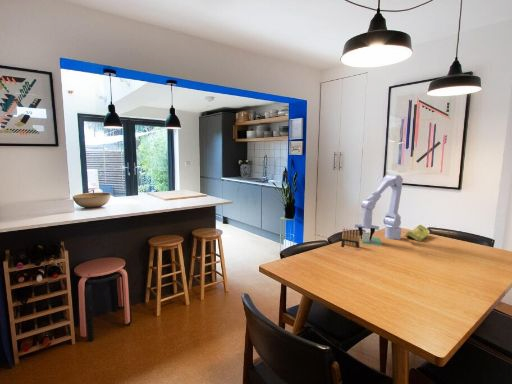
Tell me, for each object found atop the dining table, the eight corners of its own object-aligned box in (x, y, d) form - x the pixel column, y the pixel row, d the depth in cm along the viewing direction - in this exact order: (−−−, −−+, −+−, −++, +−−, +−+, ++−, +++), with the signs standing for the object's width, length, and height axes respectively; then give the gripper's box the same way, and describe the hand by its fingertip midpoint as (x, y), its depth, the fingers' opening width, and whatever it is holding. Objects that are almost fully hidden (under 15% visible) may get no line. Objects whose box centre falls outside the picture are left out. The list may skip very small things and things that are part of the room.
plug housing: (368, 239, 190) (368, 232, 189) (369, 242, 183) (369, 234, 183) (362, 238, 191) (363, 231, 191) (363, 241, 185) (363, 234, 184)
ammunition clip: (341, 246, 180) (342, 227, 178) (342, 245, 181) (343, 227, 180) (358, 250, 174) (359, 230, 172) (359, 249, 175) (360, 229, 173)
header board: (379, 240, 194) (380, 234, 194) (382, 248, 177) (383, 242, 177) (360, 238, 198) (361, 232, 197) (361, 246, 181) (362, 239, 180)
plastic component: (421, 238, 191) (407, 229, 197) (415, 247, 194) (402, 238, 200) (432, 231, 204) (418, 223, 210) (426, 239, 207) (413, 231, 213)
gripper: (355, 219, 184) (354, 239, 186) (379, 221, 180) (378, 242, 181) (355, 216, 191) (353, 236, 192) (378, 218, 186) (377, 239, 188)
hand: (365, 239), depth 187 cm, fingers open, 5 cm apart
